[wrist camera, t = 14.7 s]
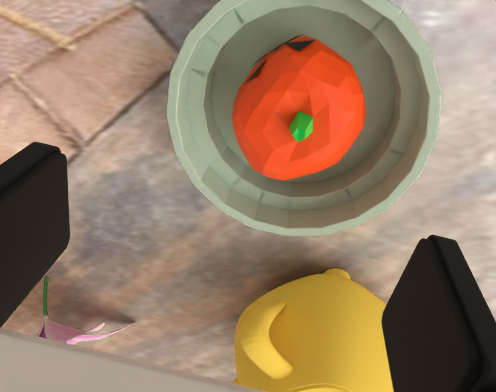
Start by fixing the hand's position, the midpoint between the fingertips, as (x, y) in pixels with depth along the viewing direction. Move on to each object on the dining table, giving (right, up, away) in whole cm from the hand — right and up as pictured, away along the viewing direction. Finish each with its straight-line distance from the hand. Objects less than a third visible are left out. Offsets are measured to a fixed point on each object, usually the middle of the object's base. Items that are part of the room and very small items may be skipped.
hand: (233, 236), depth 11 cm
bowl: (+4, +7, +15) cm, 18 cm away
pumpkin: (+4, +7, +15) cm, 17 cm away
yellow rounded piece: (+5, -10, +25) cm, 27 cm away
